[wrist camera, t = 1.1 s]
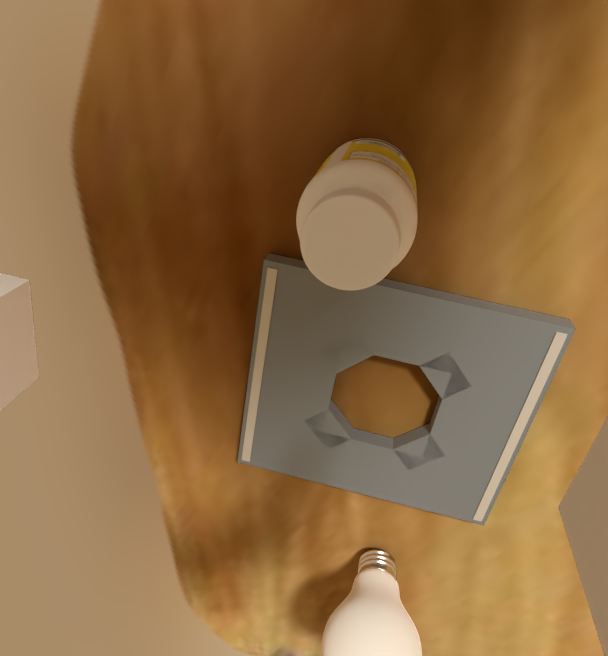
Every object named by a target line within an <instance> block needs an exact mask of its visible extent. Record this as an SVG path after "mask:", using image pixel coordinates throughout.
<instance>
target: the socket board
mask: <svg viewBox="0 0 608 656" xmlns="http://www.w3.org/2000/svg"><path fill="white" fill-rule="evenodd" d="M574 331H575V327H574V326H573V324H572V322H571V320H570V319H565V318H561V317H556V316H552V315H547V314H543V313H538V312H534V311H529V310H525V309H520V308H516V307H511V306H507V305H502V304H497V303H493V302H488V301H484V300H479V299H475V298H470V297H466V296H461V295H457V294H452V293H448V292H443V291H439V290H434V289H430V288H425V287H421V286H416V285H412V284H407V283H403V282H398V281H394V280H389V279H385V278H383V279H382V280H381V281H380V282H378V283H377V284H375V285H373V286H371V287H368V288H365V289H361V290H351V291H349V290H340V289H337V288H333V287H330V286H328V285H326V284H325V283H323V282H321V281H320V280H319V279H317V278H316V277H315V276H314V275H313V274H312V273H311V271H310V270H309V269H308V267H307V265H306V264H305V262H304V261H303V260H299V259H294V258H290V257H285V256H281V255H276V254H272V253H268V255H267V256H266V257H265V259H264V262H263V270H262V278H261V285H260V293H259V301H258V308H257V316H256V324H255V331H254V339H253V347H252V354H251V362H250V370H249V377H248V385H247V393H246V400H245V408H244V416H243V423H242V431H241V439H240V446H239V454H238V462H240V463H244V464H247V465H251V466H255V467H259V468H263V469H267V470H271V471H275V472H278V473H282V474H286V475H290V476H294V477H298V478H302V479H306V480H309V481H313V482H317V483H321V484H325V485H329V486H333V487H337V488H340V489H344V490H348V491H352V492H356V493H360V494H364V495H368V496H371V497H375V498H379V499H383V500H387V501H391V502H395V503H398V504H402V505H406V506H410V507H414V508H418V509H422V510H426V511H429V512H433V513H437V514H441V515H445V516H449V517H453V518H457V519H460V520H464V521H468V522H472V523H476V524H480V525H484V524H485V522H486V520H487V518H488V516H489V513H490V511H491V509H492V507H493V505H494V503H495V501H496V498H497V496H498V494H499V492H500V490H501V488H502V486H503V483H504V481H505V479H506V477H507V475H508V473H509V471H510V468H511V466H512V464H513V462H514V460H515V458H516V456H517V453H518V451H519V449H520V447H521V445H522V443H523V441H524V438H525V436H526V434H527V432H528V430H529V428H530V425H531V423H532V421H533V419H534V417H535V415H536V413H537V410H538V408H539V406H540V404H541V402H542V400H543V398H544V395H545V393H546V391H547V389H548V387H549V385H550V383H551V380H552V378H553V376H554V374H555V372H556V370H557V368H558V365H559V363H560V361H561V359H562V357H563V355H564V353H565V350H566V348H567V346H568V344H569V342H570V340H571V337H572V335H573V333H574ZM373 355H375V356H379V357H384V358H388V359H392V360H396V361H401V362H405V363H409V364H413V365H418V366H420V368H421V369H422V371H423V372H424V374H425V375H426V377H427V378H428V380H429V381H430V382H431V384H432V385H433V387H434V388H435V390H436V391H437V393H438V394H439V398H438V401H437V403H436V406H435V409H434V412H433V415H432V418H431V421H430V423H428V424H426V425H423V426H421V427H419V428H416V429H414V430H412V431H409V432H407V433H405V434H402V435H400V436H398V437H395V438H390V437H386V436H382V435H378V434H374V433H370V432H366V431H362V430H358V429H354V428H353V427H352V426H351V424H350V423H349V422H348V420H347V419H346V418H345V417H344V415H343V414H342V413H341V411H340V410H339V409H338V407H337V406H336V405H335V404H334V402H333V401H332V400H331V396H332V391H333V387H334V383H335V378H336V374H338V373H340V372H341V371H343V370H345V369H347V368H349V367H351V366H353V365H355V364H357V363H359V362H361V361H363V360H365V359H367V358H369V357H371V356H373Z"/></svg>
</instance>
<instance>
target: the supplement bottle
mask: <svg viewBox="0 0 608 656" xmlns="http://www.w3.org/2000/svg"><path fill="white" fill-rule="evenodd" d="M417 222H418V212H417V188H416V179H415V175H414V172H413V169H412V167H411V165H410V163H409V161H408V159H407V158H406V157H405V155H404V154H403V153H402V152H401V151H400V150H399V149H397V148H396V147H395V146H393V145H392V144H390V143H388V142H385V141H382V140H379V139H373V138H361V139H356V140H352V141H350V142H347V143H345V144H343V145H342V146H340V147H339V148H337V149H336V150H335V151H334V152H332V153H331V154H330V156H329V157H328V158H327V159H326V160H325V162H324V163H323V164H322V166H321V167H320V168H319V170H318V171H317V173H316V174H315V175H314V177H313V178H312V179H311V181H310V182H309V183H308V185H307V186H306V188H305V190H304V192H303V194H302V196H301V198H300V201H299V204H298V208H297V214H296V227H297V232H298V237H299V240H300V249H301V253H302V257H303V260H304V262H305V264H306V265H307V267H308V269H309V270H310V271H311V273H312V274H313V275H314V276H315V277H316V278H317V279H319V280H320V281H321V282H323V283H325V284H326V285H328V286H330V287H333V288H337V289H340V290H349V291H351V290H361V289H365V288H368V287H371V286H373V285H375V284H377V283H378V282H380V281H381V280H382V279H383V278H385V277H386V276H387V274H388V273H389V272H390V271H391V270H392V269H393V268H394V267H395V266H397V265H398V264H399V263H400V262H401V261H402V260H403V259H404V257H405V256H406V255H407V253H408V251H409V250H410V248H411V246H412V244H413V241H414V238H415V235H416V229H417Z"/></svg>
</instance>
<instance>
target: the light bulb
mask: <svg viewBox="0 0 608 656" xmlns="http://www.w3.org/2000/svg"><path fill="white" fill-rule="evenodd" d="M396 577H397V566H396V564H395V560H394V558H393V557H392V556H391V555H390V554H389V553H388V552H385V551H382V550H369V551H367V552H365V553H364V554H362V555H361V557H360V559H359V564H358V575H357V576H356V577H355V579H354V582H353V586H352V590H351V592H350V593H349V595H348V596H347V597H346V598H345V600H344V601H343V602H342V603H341V604H340V605H339V606H338V607H337V608H336V609H335V610H334V611H333V613H332V614H331V616H330V617H329V619H328V621H327V623H326V626H325V629H324V633H323V637H322V656H422V650H421V642H420V638H419V635H418V632H417V629H416V627H415V625H414V623H413V621H412V620H411V618H410V616H409V615H408V613H407V611H406V610H405V608H404V606H403V605H402V602H401V600H400V595H399V587H398V583H397V579H396Z"/></svg>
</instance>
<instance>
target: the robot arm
mask: <svg viewBox="0 0 608 656" xmlns="http://www.w3.org/2000/svg"><path fill="white" fill-rule="evenodd" d="M38 378H39V371H38V359H37V350H36V340H35V329H34V319H33V309H32V299H31V289H30V280H28V279H24V278H20V277H16V276H11V275H7V274H2V273H0V411H1V410H2V409H3V408H5V407H6V406H7V405H8V404H9V403H10V402H11V401H13V400H14V399H15V398H16V397H17V396H18V395H20V394H21V393H22V392H23V391H24V390H25V389H26V388H28V387H29V386H30V385H31V384H32V383H33V382H35V381H36V380H37V379H38ZM558 508H559V511H560V514H561V517H562V521H563V524H564V527H565V530H566V533H567V537H568V540H569V543H570V546H571V550H572V553H573V556H574V559H575V562H576V566H577V569H578V572H579V575H580V579H581V582H582V585H583V588H584V592H585V595H586V598H587V601H588V604H589V608H590V611H591V614H592V617H593V621H594V624H595V627H596V630H597V633H598V637H599V640H600V643H601V646H602V650H603V653H604V656H608V417H607V419H606V420H605V422H604V424H603V426H602V428H601V430H600V431H599V433H598V435H597V437H596V439H595V441H594V443H593V444H592V446H591V448H590V450H589V452H588V454H587V455H586V457H585V459H584V461H583V463H582V465H581V466H580V468H579V470H578V472H577V474H576V476H575V477H574V479H573V481H572V483H571V485H570V487H569V488H568V490H567V492H566V494H565V496H564V498H563V499H562V501H561V503H560V505H559V507H558Z"/></svg>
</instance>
